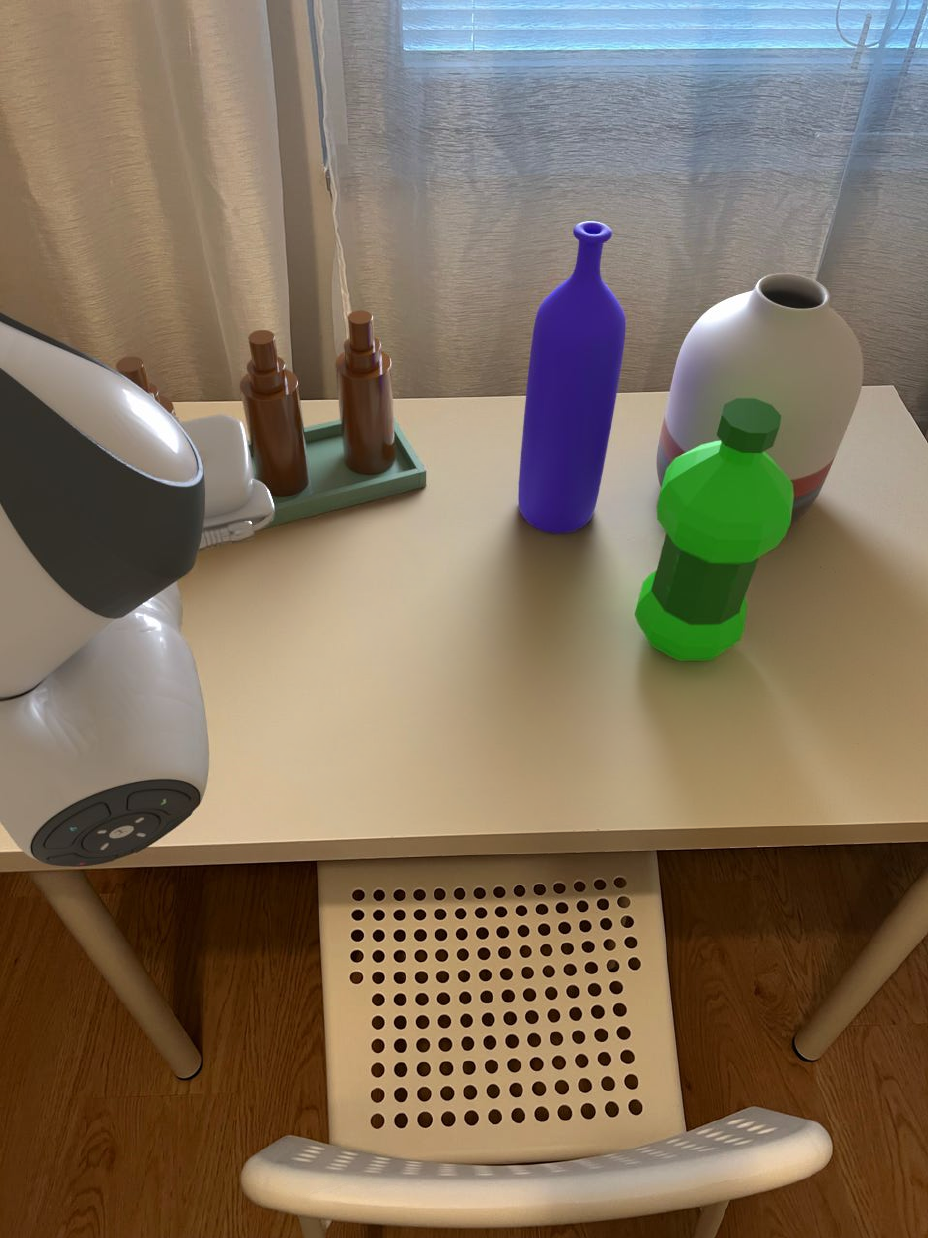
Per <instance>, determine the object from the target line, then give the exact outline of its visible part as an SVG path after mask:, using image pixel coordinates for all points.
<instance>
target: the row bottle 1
mask: <svg viewBox="0 0 928 1238" xmlns="http://www.w3.org/2000/svg"><path fill="white" fill-rule="evenodd" d="M247 338H248V345H249V352H250V356H251V358H250V360H249V361H248V362H247V364H246V372H247V373H246V374H245V375H244V376H243V377H242V378H241V379H240V381H239V390H240V398H241V402H242V406H243V412H244V413H243V414H244V418H245V423H246V428H247V434H248V439H249V440H250V445H251V450H252V456H253V461H254V467H255V472H256V477H257V480H258V481H260V482H262V483H263V484H264V485H265V486H266V487H267V488H268V490H269V491H270V494H271V496H276V497H287V496H292V495H295V494H298V493H299V492H301V491H303V490H304V489H305V488H306V487H307V486H308V484H309V482H310V471H309V463H308V455H307V448H306V440H305V432H304V428H305V425H304V417H303V411H302V403H301V395H300V387H299V380H298V377H297V376H296V374H295V373H294V372H292V371H291V370H289V369H287V366H286V362H285V360H284V359H283V358H282V357H280V356H279V355H278V348H277V342H276V336H275V333H273V332H272V330H268V329H257V330H254V331H252V332H251V333H250V334H249V335H248V337H247ZM249 440H248V441H249Z"/></svg>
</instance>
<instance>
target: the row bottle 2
mask: <svg viewBox="0 0 928 1238" xmlns="http://www.w3.org/2000/svg"><path fill="white" fill-rule="evenodd" d="M347 328H348V329H347V330H348V338H347V339H345V341H344V342H343V352H341V353H340V354H339V355H338V356H337V358H336V359H335V363H334V365H335V367H334V369H335V378H336V387H337V388H336V389H337V398H338V399H337V400H338V409H339V410H338V411H339V419H340V421H341V432H342V443H343V454H344V462H345V464H346V466H347V467H348V468H349V469H350V470H352V471H353V472H355V473H358V474H363V475H375V474H379V473H382V472H385V471H387V470H388V469H389V468H391V467H392V465H393V464H394V462H395V440H394V418H395V417H394V393H393V392H394V391H393V390H394V389H393V371H392V370H393V369H392V367H393V366H392V359H391V357H390V356H389V354H388V353H386V352H385V351H382V344H381V341H380V340H379V339H378V338H377V337H375V327H374V315H373V314H372V313H371V312H370V311H367V310H361V309H359V310H353V311H352V312H350V313H349V314H348V315H347Z"/></svg>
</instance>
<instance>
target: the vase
mask: <svg viewBox="0 0 928 1238" xmlns="http://www.w3.org/2000/svg"><path fill="white" fill-rule="evenodd" d="M830 304H831V294H830V291H829V290H828V288H827V287H826V286H824V285H823V284H822V283H820V282H819V281H817V280H816V279H813V278H811V277H809V276H806V275H802V274H797V273H790V272H779V273H772V274H771V273H770V274H768V275H766V276H763V277H762V278H761V279H759V280H758V282H757V283H756V284H755V287H754V289H753V290H750V291H746V292H743V293H739V294H736V295H734V296H730V297H729V298H726V299H724V300H722V301H720V302H718V303H716V304H715V305H714V306H712V307H710V308H709V309H708V310H706V311H705V312H704V313H703V314H702V315H701V316H700V317H699V319H698V320H697V321H696V322H695V323H694V324H693V326H692V327H691V329H690V330H689V332H688V333H687V335H686V336H685V338H684V340H683V342H682V345H681V347H680V350H679V353H678V356H677V359H676V362H675V366H674V371H673V375H672V380H671V383H670V388H669V393H668V397H667V401H666V406H665V411H664V415H663V420H662V425H661V429H660V434H659V439H658V445H657V451H656V462H655V463H656V474H657V478H658V482H659V486H660V488H661V487H662V484H663V480H664V476H665V473H666V469H667V467H668V466H669V465H670V464H671V463H672V461H673V460H674V459H675V458H676V457H678V456H680V455H682V454H684V453H686V452H688V451H690V450H692V449H694V448H696V447H698V446H700V445H702V444H706V443H710V442H714V441H721V440H720V439H719V437H718V436H717V430H718V426H719V422H720V418H721V415H722V411H723V408H724V404H726V403H728V402H730V401H732V400H734V399H736V398H755V399H758V400H760V401H763V402H765V403H768V404H771V405H772V406H773V407H774V408H775V409H776V410H777V411H778V412H779V414H780V415H781V422H780V427H779V430H778V433H777V436H776V439H775V442H774V445H773V447H771V448H769V449H767V450H765V451H764V452H765V453H766V454H767V455H768V456H769V457H770V458H772V459H773V461H774V462H775V463H776V464H777V465H778V467H779V468H780V469H781V470H782V471H783V473H784V474H785V475H786V476H787V477H788V478H789V480H790V481H791V482H792V483H793V492H794V499H793V507H792V515H791V522H790V525H789V527H790V526H791V525H793V524H795V522H797V521H798V520H799V519H801V518H802V517H803V516H804V515H805V514H806V513H807V512H808V511H809V510H810V508H811V507H812V506H813V504H814V503H815V502H816V500H817V498H818V497H819V495H820V493H821V491H822V488H823V486H824V484H825V482H826V480H827V477H828V475H829V472H830V471H831V468H832V465H833V463H834V461H835V458H836V456H837V454H838V451H839V449H840V446H841V444H842V441H843V439H844V437H845V434H846V431H847V429H848V427H849V424H850V422H851V420H852V418H853V415H854V413H855V409H856V407H857V404H858V401H859V398H860V395H861V392H862V388H863V382H864V381H863V380H864V358H863V353H862V348H861V345H860V342H859V340H858V338H857V336H856V334H855V333H854V331H853V330H852V328H851V326H849V324H848V323H847V322H846V321H845V320H844V319H843V317H842V316H841V315H839V313H837V312H836V311H835V310H834V309H833V308H832V307H831V306H830Z"/></svg>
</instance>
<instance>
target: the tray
mask: <svg viewBox="0 0 928 1238" xmlns="http://www.w3.org/2000/svg"><path fill="white" fill-rule="evenodd" d="M304 432H305V440H306V448H307V455H308V463H309V471H310V482H309V484H308V486H307V487H306V488H305V489H304V490H303V491H301V492H299V493H298V494H295V495H292V496H287V497H276V496H271V497H272V500H273V503H274V506H275V514H274V519H273V521H272V522H270V523H269V524H268V525H267V526H266V527H264V528H263V529H266V528H267V529H268V528H270V527H274V526H278V525H283V524H285V523H288V522H289V523H290V522H294V521H298V520H302V519H305V518H309V517H313V516H317V515H320V514H324V513H328V512H331V511H336V510H340V509H344V508H347V507H351V506H356V505H359V504H363V503H367V502H371V501H375V500H378V499H383V498H385V497H390V496H394V495H397V494H401V493H406V492H409V491H413V490H417V489H422V488H424V487H427V470H426V468H425V466H424V464H423V463H422V461H421V460H420V458H419V457H418V455H417V453H416V451H415V450H414V448H413V446H412V445H411V443H410V441H409V440H408V438H407V436H406V434H405V433H404V431H403V430H402V428H401V427H400V425H399V423H398V421H397V420H396V418H395V417H394V440H395V462H394V464H393V465H392V467H391V468H389V469H388V470H387V471H385V472H382V473H379V474H375V475H363V474H358V473H355V472H353V471H352V470H350V469H349V468H348V467H347V466H346V464H345V462H344V454H343V443H342V432H341V421H340V418H339V419H336V420H331V421H327V422H323V423H318V424H313V425H310V426H306V427H305V426H304ZM247 441H248V446H249V450H250V455H251V461H252V466H253V472H254V478H255V479H256V480H257V477H256V472H255V467H254V461H253V456H252V450H251V445H250V440H247Z"/></svg>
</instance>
